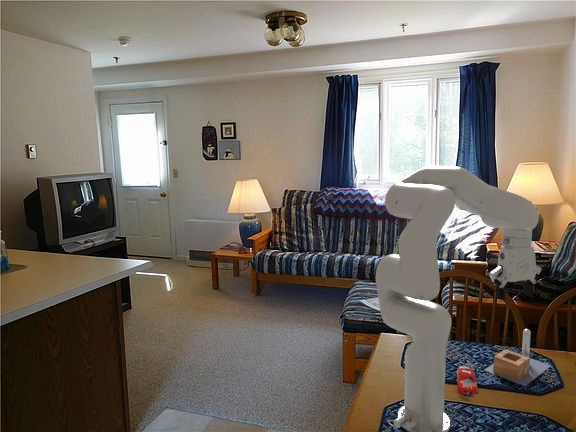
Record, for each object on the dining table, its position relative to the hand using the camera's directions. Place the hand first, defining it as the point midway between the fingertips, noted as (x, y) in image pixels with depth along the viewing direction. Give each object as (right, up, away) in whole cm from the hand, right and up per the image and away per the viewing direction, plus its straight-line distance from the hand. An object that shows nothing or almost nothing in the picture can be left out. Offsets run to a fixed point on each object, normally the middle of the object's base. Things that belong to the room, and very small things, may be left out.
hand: (514, 297), depth 129 cm
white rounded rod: (+6, -22, +6) cm, 23 cm away
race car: (-16, -25, -4) cm, 30 cm away
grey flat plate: (+3, -23, +3) cm, 24 cm away
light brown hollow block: (-1, -23, 0) cm, 23 cm away
